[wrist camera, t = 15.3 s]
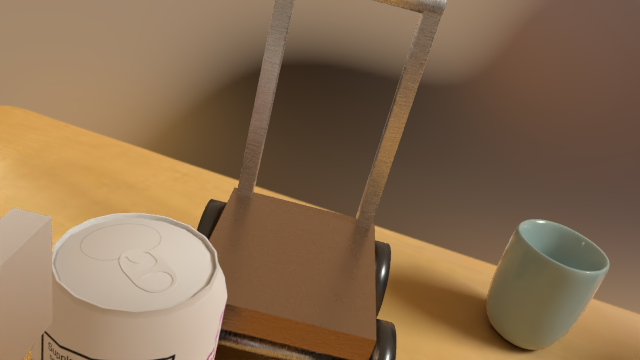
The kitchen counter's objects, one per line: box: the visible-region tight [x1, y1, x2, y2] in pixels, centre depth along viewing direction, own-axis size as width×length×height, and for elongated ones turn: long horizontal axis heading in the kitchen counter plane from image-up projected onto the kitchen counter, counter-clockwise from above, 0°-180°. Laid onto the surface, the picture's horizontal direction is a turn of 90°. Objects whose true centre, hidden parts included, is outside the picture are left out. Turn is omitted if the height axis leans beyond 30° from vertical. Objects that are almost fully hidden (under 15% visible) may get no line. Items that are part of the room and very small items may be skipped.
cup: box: [486, 219, 609, 350], centre depth 48 cm, size 8×8×10 cm
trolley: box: [197, 0, 447, 360], centre depth 37 cm, size 15×17×27 cm
